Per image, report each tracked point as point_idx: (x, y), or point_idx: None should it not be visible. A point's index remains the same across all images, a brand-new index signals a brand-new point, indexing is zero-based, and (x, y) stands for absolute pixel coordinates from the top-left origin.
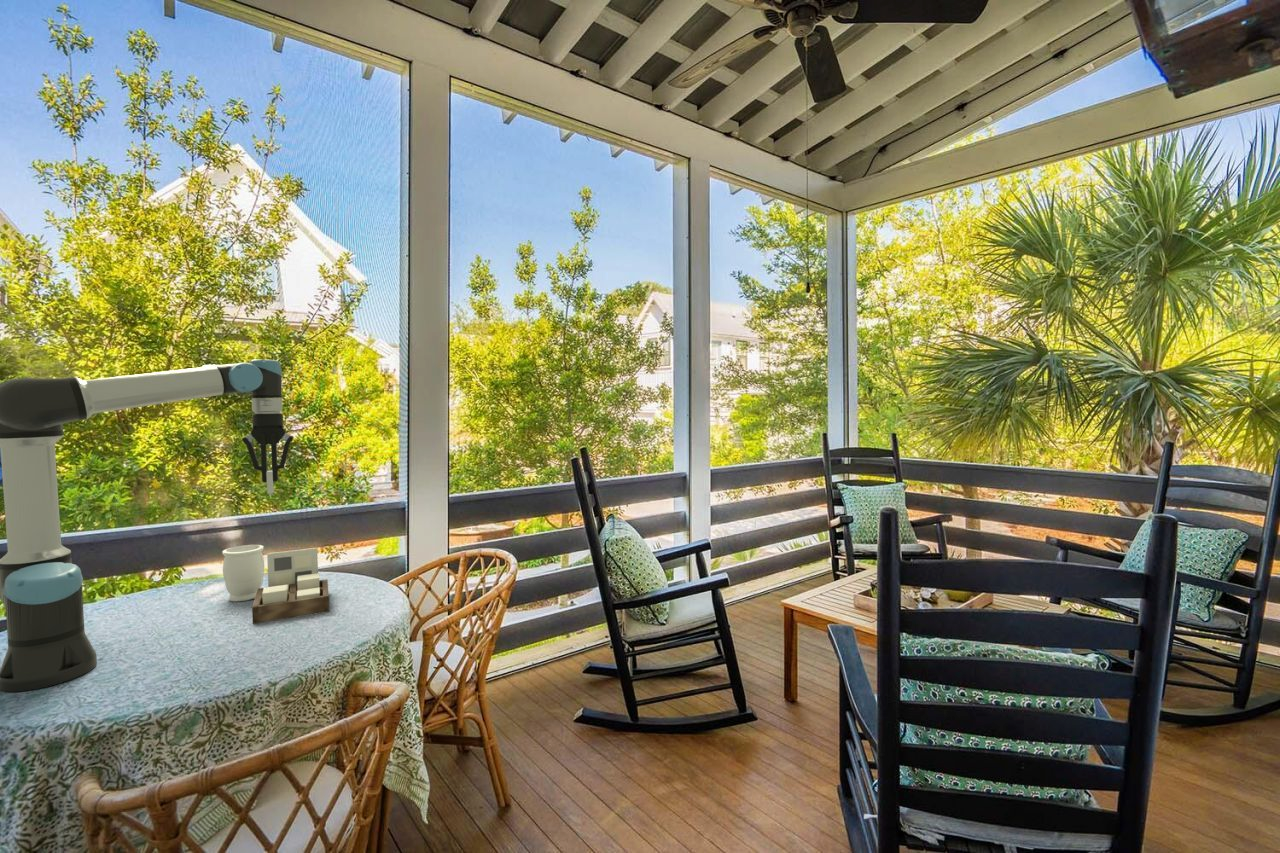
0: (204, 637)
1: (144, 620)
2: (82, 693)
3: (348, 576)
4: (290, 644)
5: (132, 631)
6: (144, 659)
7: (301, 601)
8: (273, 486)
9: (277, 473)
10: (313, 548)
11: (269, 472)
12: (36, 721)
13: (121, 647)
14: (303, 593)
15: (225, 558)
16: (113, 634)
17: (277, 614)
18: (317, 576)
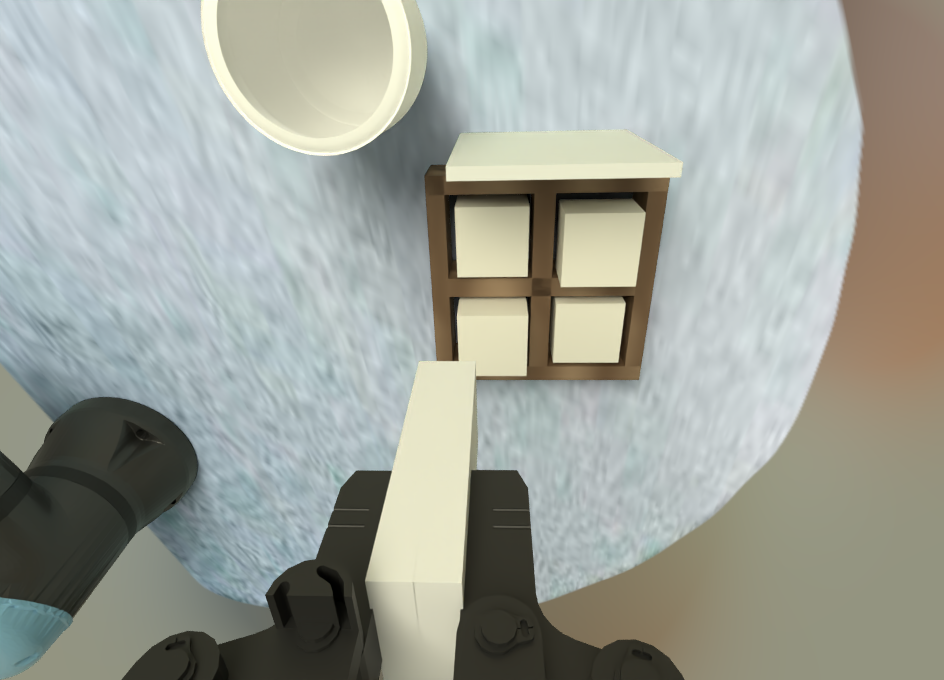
0: (349, 391)
1: (122, 169)
2: (239, 539)
3: None
4: (530, 505)
5: (145, 262)
6: (271, 454)
7: (563, 378)
8: (473, 410)
9: (532, 575)
10: (663, 171)
11: (428, 668)
12: (228, 588)
13: (185, 368)
14: (572, 344)
15: (246, 84)
16: (106, 263)
17: None
18: (632, 262)
